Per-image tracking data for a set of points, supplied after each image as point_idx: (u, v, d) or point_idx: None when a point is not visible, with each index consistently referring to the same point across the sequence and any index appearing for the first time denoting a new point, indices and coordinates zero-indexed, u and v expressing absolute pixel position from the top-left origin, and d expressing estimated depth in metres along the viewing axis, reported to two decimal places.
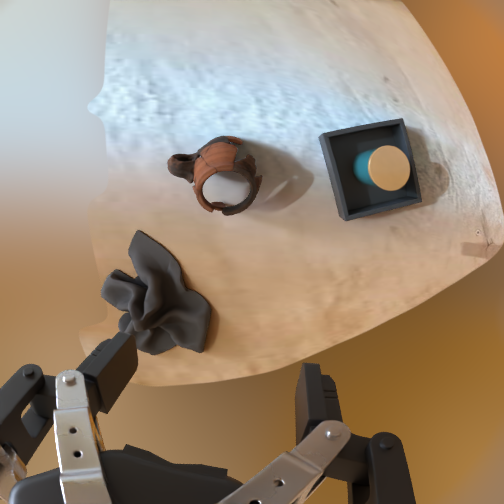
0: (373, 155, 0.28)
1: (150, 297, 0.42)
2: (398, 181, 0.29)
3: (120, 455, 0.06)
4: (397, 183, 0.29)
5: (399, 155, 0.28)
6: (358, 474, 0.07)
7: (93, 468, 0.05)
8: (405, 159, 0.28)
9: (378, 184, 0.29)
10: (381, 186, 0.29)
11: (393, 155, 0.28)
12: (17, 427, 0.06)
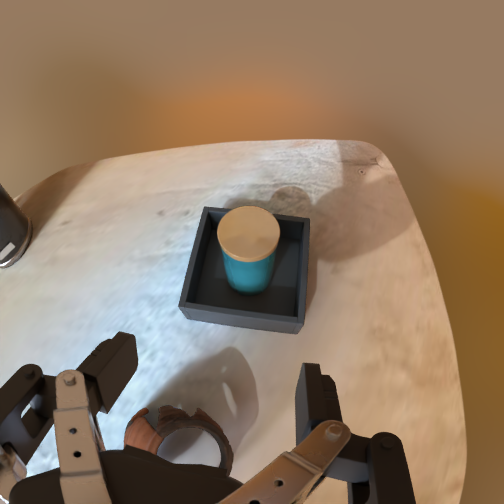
0: (223, 245, 0.23)
1: None
2: (269, 226, 0.24)
3: (120, 455, 0.06)
4: (272, 228, 0.23)
5: (237, 213, 0.24)
6: (358, 474, 0.07)
7: (93, 468, 0.05)
8: (245, 208, 0.24)
9: (264, 253, 0.22)
10: (268, 250, 0.23)
11: (234, 221, 0.24)
12: (17, 427, 0.06)
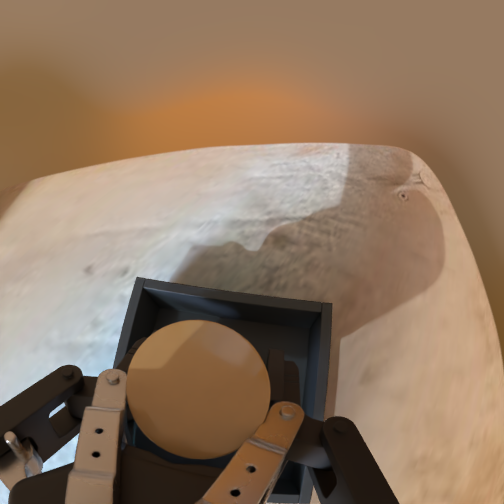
0: (138, 422, 0.08)
1: None
2: (245, 380, 0.09)
3: (120, 455, 0.06)
4: (250, 386, 0.09)
5: (169, 342, 0.10)
6: (313, 457, 0.08)
7: (107, 472, 0.05)
8: (188, 328, 0.10)
9: (230, 449, 0.08)
10: (240, 443, 0.08)
11: (162, 361, 0.09)
12: (43, 425, 0.07)
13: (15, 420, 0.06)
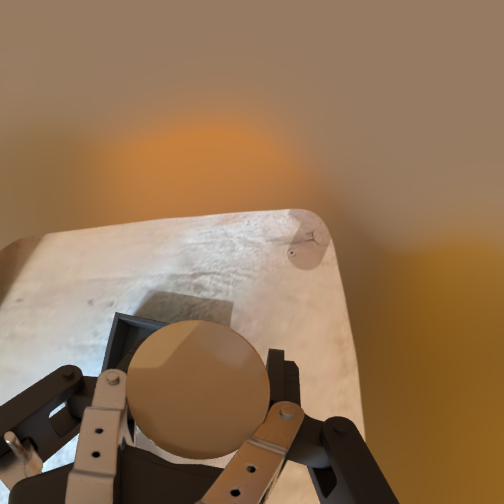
0: (138, 422, 0.08)
1: None
2: (245, 380, 0.09)
3: (120, 455, 0.06)
4: (250, 386, 0.09)
5: (169, 342, 0.10)
6: (313, 457, 0.08)
7: (107, 471, 0.05)
8: (188, 328, 0.10)
9: (229, 449, 0.08)
10: (239, 443, 0.08)
11: (161, 362, 0.09)
12: (43, 425, 0.07)
13: (15, 420, 0.06)
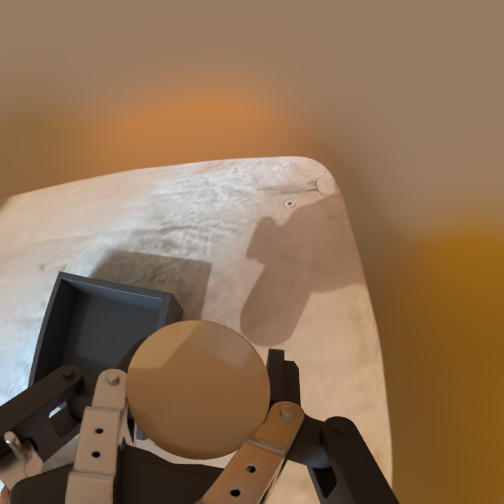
0: (138, 422, 0.08)
1: None
2: (245, 381, 0.09)
3: (120, 455, 0.06)
4: (250, 386, 0.09)
5: (169, 342, 0.10)
6: (313, 457, 0.08)
7: (107, 471, 0.05)
8: (188, 328, 0.10)
9: (229, 449, 0.08)
10: (239, 443, 0.08)
11: (161, 362, 0.09)
12: (43, 425, 0.07)
13: (15, 420, 0.06)
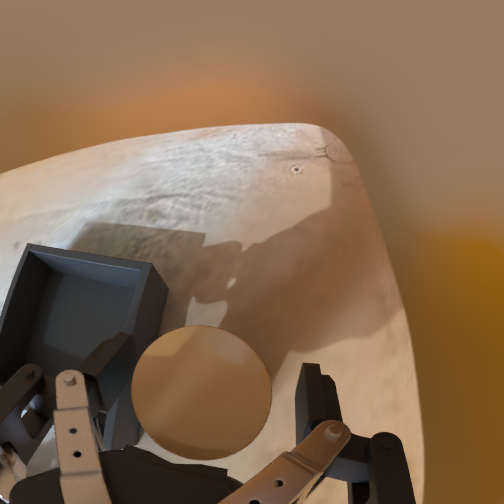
0: (144, 425, 0.08)
1: None
2: (247, 384, 0.09)
3: (120, 455, 0.06)
4: (252, 390, 0.09)
5: (173, 347, 0.10)
6: (358, 474, 0.07)
7: (93, 468, 0.05)
8: (192, 333, 0.10)
9: (232, 450, 0.08)
10: (242, 444, 0.08)
11: (166, 366, 0.09)
12: (17, 427, 0.06)
13: None
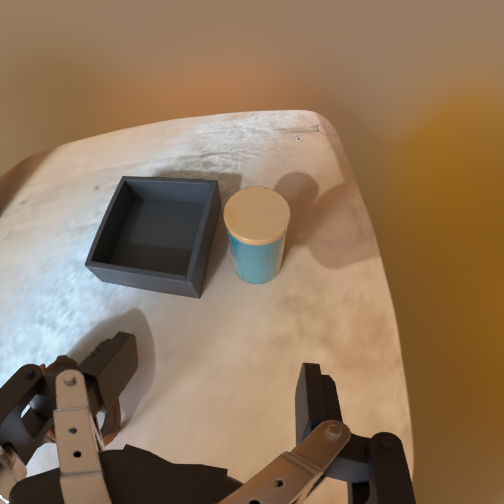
0: (230, 227, 0.21)
1: None
2: (279, 207, 0.22)
3: (120, 455, 0.06)
4: (281, 209, 0.22)
5: (244, 195, 0.23)
6: (358, 474, 0.07)
7: (93, 468, 0.05)
8: (253, 189, 0.23)
9: (274, 235, 0.21)
10: (278, 232, 0.21)
11: (241, 202, 0.22)
12: (17, 427, 0.06)
13: None
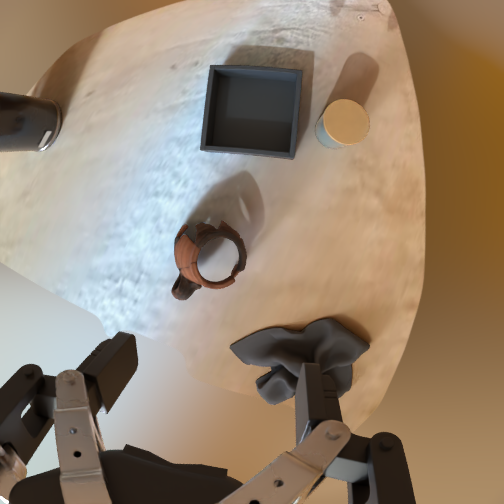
0: (329, 133, 0.27)
1: (291, 367, 0.41)
2: (362, 118, 0.27)
3: (120, 455, 0.06)
4: (364, 120, 0.27)
5: (337, 106, 0.27)
6: (358, 474, 0.07)
7: (93, 468, 0.05)
8: (343, 101, 0.26)
9: (358, 140, 0.27)
10: (361, 138, 0.27)
11: (335, 112, 0.27)
12: (17, 427, 0.06)
13: None
